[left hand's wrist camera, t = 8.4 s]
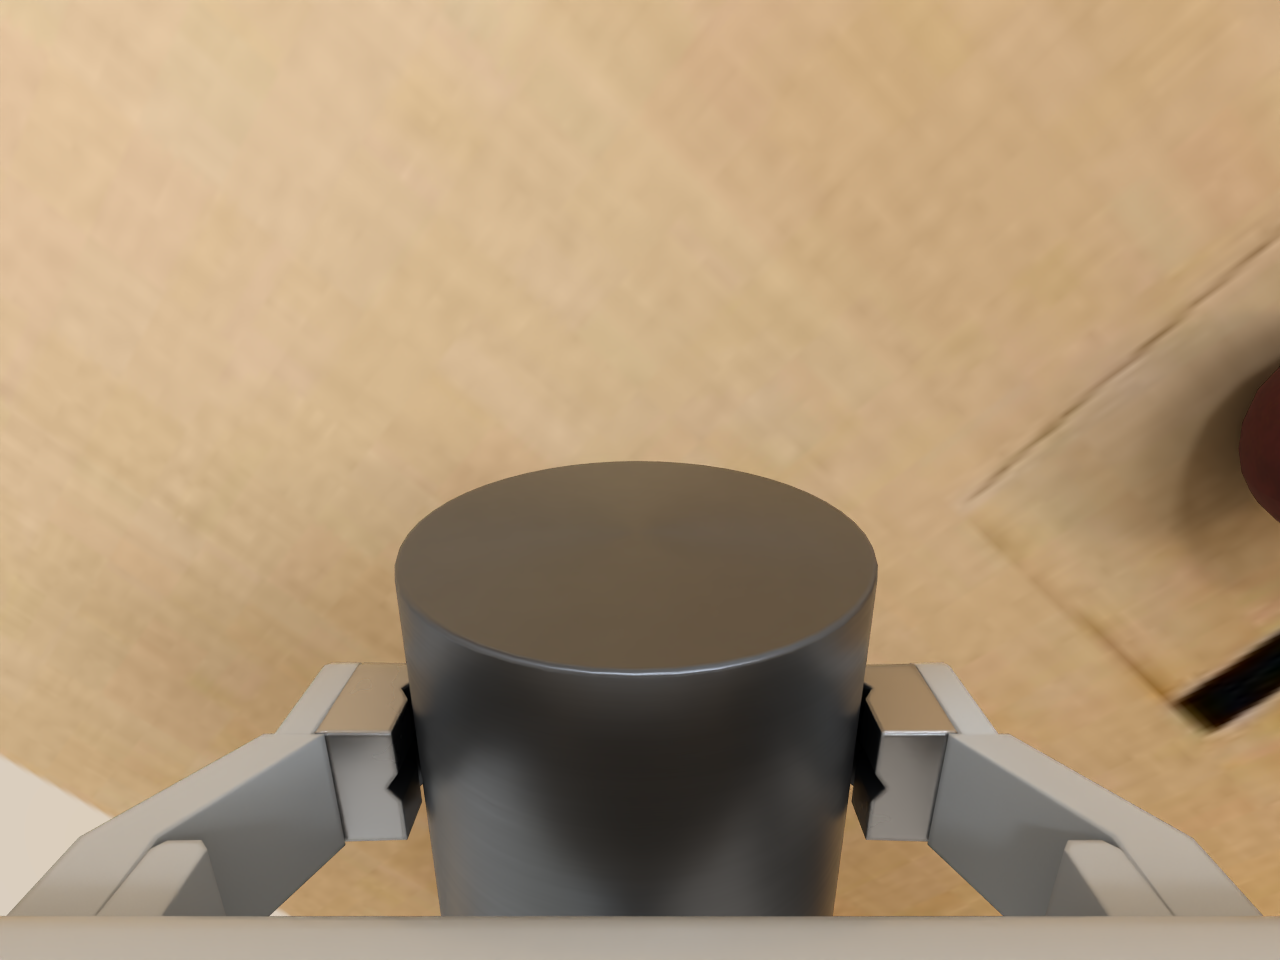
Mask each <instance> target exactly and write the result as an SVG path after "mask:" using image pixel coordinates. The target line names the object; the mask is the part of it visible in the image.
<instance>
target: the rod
mask: <svg viewBox="0 0 1280 960" xmlns="http://www.w3.org/2000/svg"><path fill="white" fill-rule="evenodd" d="M877 571H878V564H877V561H876V557H875V553H874V550H873V547H872V545H871V544H870V542H869V540H868V538H867V537H866V535H865V534H864V532H863V531H862V530H861V529H860V528H859V527H858V526H857V525H856V523H855V522H854V521H852V520H851V519H850V518H849V517H847V516H846V515H845V514H844V513H843V512H841V511H840V510H838V509H837V508H835V507H833V506H832V505H830V504H829V503H827V502H825V501H823V500H821V499H819V498H817V497H815V496H813V495H811V494H809V493H807V492H805V491H802V490H800V489H797V488H795V487H792V486H790V485H787V484H784V483H781V482H778V481H774V480H771V479H768V478H764V477H760V476H756V475H753V474H749V473H744V472H739V471H734V470H729V469H724V468H717V467H711V466H704V465H695V464H686V463H672V462H648V461H627V462H603V463H589V464H580V465H571V466H564V467H557V468H551V469H545V470H540V471H535V472H530V473H526V474H522V475H518V476H514V477H510V478H507V479H503V480H500V481H497V482H494V483H491V484H488V485H485V486H482V487H480V488H477V489H475V490H472V491H470V492H467V493H465V494H463V495H461V496H459V497H457V498H455V499H453V500H451V501H449V502H447V503H445V504H444V505H442V506H440V507H439V508H437V509H436V510H434V511H432V512H431V513H430V514H429V515H427V516H426V517H425V518H424V519H422V520H421V521H420V522H419V523H418V524H417V525H416V526H415V527H414V528H413V529H412V530H411V532H410V533H409V534H408V535H407V537H406V538H405V540H404V542H403V543H402V545H401V547H400V549H399V553H398V556H397V559H396V563H395V584H396V592H397V599H398V606H399V613H400V621H401V628H402V635H403V642H404V650H405V657H406V664H407V672H408V679H409V686H410V693H411V701H412V708H413V715H414V722H415V730H416V737H417V744H418V751H419V759H420V766H421V773H422V780H423V788H424V795H425V802H426V809H427V817H428V824H429V831H430V839H431V846H432V853H433V860H434V868H435V875H436V882H437V889H438V897H439V904H440V911H441V916H833V910H834V902H835V895H836V887H837V880H838V872H839V864H840V857H841V849H842V842H843V834H844V827H845V819H846V812H847V804H848V797H849V789H850V781H851V774H852V766H853V759H854V751H855V744H856V736H857V729H858V721H859V714H860V706H861V698H862V691H863V683H864V676H865V668H866V661H867V653H868V646H869V638H870V631H871V623H872V615H873V608H874V600H875V593H876V585H877Z"/></svg>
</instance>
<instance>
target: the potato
mask: <svg viewBox="0 0 1280 960" xmlns="http://www.w3.org/2000/svg"><path fill="white" fill-rule="evenodd" d="M1239 455H1240V463H1241V470H1242V474H1243V476H1244V478H1245V480H1246V483H1247V485H1248V487H1249V489H1250V491H1251V493H1252V494H1253V496H1254V497H1255V499H1256V500H1257V502H1258V503H1259V504H1260V505H1261V506H1262V507H1263V508H1264V509H1265V510H1266V511H1267V512H1269V513H1270V514H1271V515H1272V516H1273V517H1274V518H1275V519H1276V520H1277V521H1278V522H1280V367H1279V368H1278V369H1277V370H1276V371H1275V372H1274V373H1273V374H1272V375H1271V376H1270V377H1269V378H1268V379H1267V380H1266V381H1265V383H1264V384H1263V385H1262V386H1261V387H1260V388H1259V389H1258V390H1257V393H1256V395H1255V397H1254V399H1253V401H1252V403H1251V405H1250V408H1249V410H1248V412H1247V414H1246V416H1245V418H1244V421H1243V424H1242V430H1241V437H1240V443H1239Z"/></svg>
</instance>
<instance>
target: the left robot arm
mask: <svg viewBox="0 0 1280 960" xmlns="http://www.w3.org/2000/svg"><path fill="white" fill-rule="evenodd" d="M422 784H423V780H422V773H421V766H420V759H419V751H418V744H417V737H416V730H415V722H414V715H413V708H412V701H411V693H410V686H409V679H408V672H407V664H402V663H330V664H327V665H325V666H324V667H323V668H322V669H321V670H320V672H319V673H318V674H317V676H316V677H315V678H314V680H313V681H312V683H311V684H310V685H309V687H308V688H307V689H306V691H305V692H304V694H303V695H302V696H301V698H300V699H299V700H298V702H297V703H296V705H295V706H294V707H293V709H292V710H291V711H290V713H289V714H288V716H287V717H286V718H285V720H284V721H283V722H282V724H281V725H280V727H279V728H278V729H277V731H276V732H275V733H274V734H263V735H261V736H259V737H257V738H255V739H254V740H252V741H250V742H248V743H247V744H245V745H243V746H241V747H239V748H238V749H236V750H234V751H232V752H230V753H229V754H227V755H225V756H223V757H221V758H220V759H218V760H216V761H214V762H213V763H211V764H209V765H207V766H205V767H204V768H202V769H200V770H198V771H196V772H195V773H193V774H191V775H189V776H188V777H186V778H184V779H182V780H180V781H179V782H177V783H175V784H173V785H171V786H170V787H168V788H166V789H164V790H163V791H161V792H159V793H157V794H155V795H154V796H152V797H150V798H148V799H146V800H145V801H143V802H141V803H139V804H138V805H136V806H134V807H132V808H130V809H129V810H127V811H125V812H123V813H121V814H120V815H118V816H116V817H114V818H112V819H111V820H109V821H107V822H105V823H104V824H102V825H100V826H98V827H96V828H95V829H93V830H91V831H89V832H88V833H86V834H84V835H82V836H80V837H79V838H78V839H77V840H76V841H75V842H74V843H73V844H72V845H71V847H70V848H69V849H68V850H67V851H66V852H65V853H64V854H63V855H62V856H61V857H60V859H59V860H58V861H57V862H56V863H55V864H54V865H53V866H52V867H51V868H50V869H49V870H48V871H47V873H46V874H45V875H44V876H43V877H42V878H41V879H40V880H39V881H38V882H37V883H36V884H35V886H34V887H33V888H32V889H31V890H30V891H29V892H28V893H27V894H26V895H25V896H24V897H23V899H22V900H21V901H20V902H19V903H18V904H17V905H16V906H15V907H14V908H13V909H12V911H11V912H10V913H9V914H8V915H7V916H0V960H1280V916H1263V915H1262V914H1261V913H1260V912H1259V911H1258V910H1257V908H1256V907H1255V906H1254V905H1253V904H1252V903H1251V902H1250V901H1249V900H1248V898H1247V897H1246V896H1245V895H1244V894H1243V893H1242V892H1241V891H1240V890H1239V888H1238V887H1237V886H1236V885H1235V884H1234V883H1233V882H1232V881H1231V880H1230V879H1229V877H1228V876H1227V875H1226V874H1225V873H1224V872H1223V871H1222V870H1221V869H1220V867H1219V866H1218V865H1217V864H1216V863H1215V862H1214V861H1213V860H1212V859H1211V857H1210V856H1209V855H1208V854H1207V853H1206V852H1205V851H1204V850H1203V849H1202V848H1201V846H1200V845H1199V844H1198V843H1197V842H1196V841H1195V840H1194V839H1193V838H1192V837H1190V836H1188V835H1186V834H1185V833H1183V832H1181V831H1179V830H1178V829H1176V828H1174V827H1172V826H1171V825H1169V824H1167V823H1165V822H1164V821H1162V820H1160V819H1158V818H1156V817H1155V816H1153V815H1151V814H1149V813H1148V812H1146V811H1144V810H1142V809H1141V808H1139V807H1137V806H1135V805H1134V804H1132V803H1130V802H1128V801H1126V800H1125V799H1123V798H1121V797H1119V796H1118V795H1116V794H1114V793H1112V792H1111V791H1109V790H1107V789H1105V788H1104V787H1102V786H1100V785H1098V784H1096V783H1095V782H1093V781H1091V780H1089V779H1088V778H1086V777H1084V776H1082V775H1081V774H1079V773H1077V772H1075V771H1074V770H1072V769H1070V768H1068V767H1066V766H1065V765H1063V764H1061V763H1059V762H1058V761H1056V760H1054V759H1052V758H1051V757H1049V756H1047V755H1045V754H1044V753H1042V752H1040V751H1038V750H1036V749H1035V748H1033V747H1031V746H1029V745H1028V744H1026V743H1024V742H1022V741H1021V740H1019V739H1017V738H1015V737H1014V736H1012V735H1010V734H998V733H997V731H996V730H995V728H994V727H993V726H992V724H991V723H990V721H989V720H988V719H987V717H986V716H985V714H984V713H983V712H982V710H981V709H980V708H979V706H978V705H977V703H976V702H975V701H974V699H973V698H972V696H971V695H970V694H969V692H968V691H967V689H966V688H965V687H964V685H963V684H962V683H961V681H960V680H959V678H958V677H957V676H956V674H955V673H954V671H953V670H952V669H951V667H950V666H949V665H947V664H945V663H944V662H931V663H910V664H872V665H866V668H865V676H864V683H863V691H862V698H861V706H860V714H859V721H858V729H857V736H856V744H855V751H854V759H853V766H852V774H851V781H850V784H852V785H853V794H852V804H853V807H854V809H855V812H856V814H857V817H858V820H859V822H860V825H861V828H862V830H863V833H864V836H865V838H866V840H895V841H928V845H929V846H930V847H931V848H932V849H933V850H934V851H935V852H936V853H937V854H938V855H939V856H940V857H941V858H943V859H944V860H945V861H946V862H947V863H948V864H949V865H950V866H951V867H952V868H953V869H954V870H955V871H956V872H957V873H958V874H959V875H961V876H962V877H963V878H964V879H965V880H966V881H967V882H968V883H969V884H970V885H971V886H972V887H973V888H974V889H975V890H976V891H977V892H979V893H980V894H981V895H982V896H983V897H984V898H985V899H986V900H987V901H988V902H989V903H990V904H991V905H992V906H993V907H994V908H995V909H997V910H998V911H999V912H1000V913H1001V914H1002V915H1003V916H270V915H271V914H272V913H273V912H274V911H275V910H276V909H277V908H278V907H279V906H280V905H281V904H283V903H284V902H285V901H286V900H287V899H288V898H289V897H290V896H291V895H292V894H293V893H294V892H295V891H296V890H298V889H299V888H300V887H301V886H302V885H303V884H304V883H305V882H306V881H307V880H308V879H309V878H310V877H312V876H313V875H314V874H315V873H316V872H317V871H318V870H319V869H320V868H321V867H322V866H323V865H324V864H325V863H327V862H328V861H329V860H330V859H331V858H332V857H333V856H334V855H335V854H336V853H337V852H338V851H339V850H340V849H342V848H343V847H344V846H345V841H377V840H407V839H408V836H409V834H410V831H411V829H412V826H413V823H414V821H415V818H416V816H417V813H418V810H419V808H420V805H421V803H422V798H421V790H420V786H421V785H422Z"/></svg>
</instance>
